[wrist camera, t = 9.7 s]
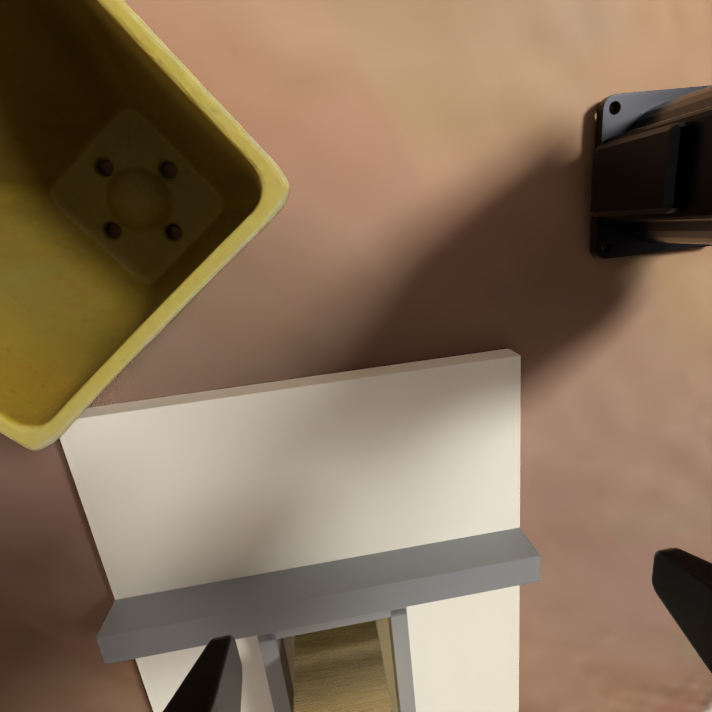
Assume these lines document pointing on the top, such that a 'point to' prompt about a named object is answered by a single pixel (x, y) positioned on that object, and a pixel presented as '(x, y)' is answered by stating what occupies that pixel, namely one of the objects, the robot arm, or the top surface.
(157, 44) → the flower pot
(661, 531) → the top surface
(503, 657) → the board
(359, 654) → the bar
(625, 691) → the top surface
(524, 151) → the top surface
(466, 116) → the top surface
